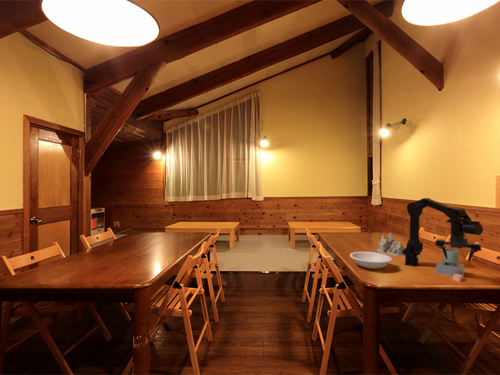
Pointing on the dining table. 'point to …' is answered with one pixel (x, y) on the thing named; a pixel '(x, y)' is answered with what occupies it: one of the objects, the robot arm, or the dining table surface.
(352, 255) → the soup bowl
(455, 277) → the pink rectangular block
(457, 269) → the box
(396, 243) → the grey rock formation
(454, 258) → the cup
